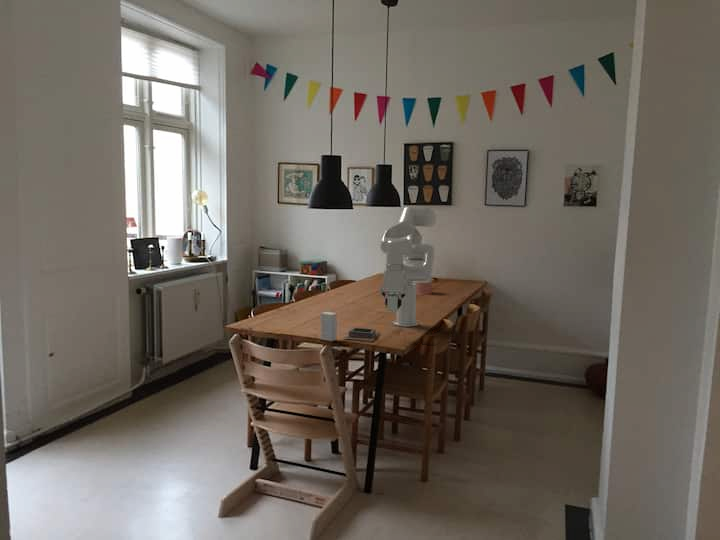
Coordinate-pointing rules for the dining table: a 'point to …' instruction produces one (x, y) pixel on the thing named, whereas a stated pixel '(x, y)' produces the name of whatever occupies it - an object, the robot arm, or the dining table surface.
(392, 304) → the key block
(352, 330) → the keyed holder
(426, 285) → the canned food
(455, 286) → the dining table surface
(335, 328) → the skincare box
